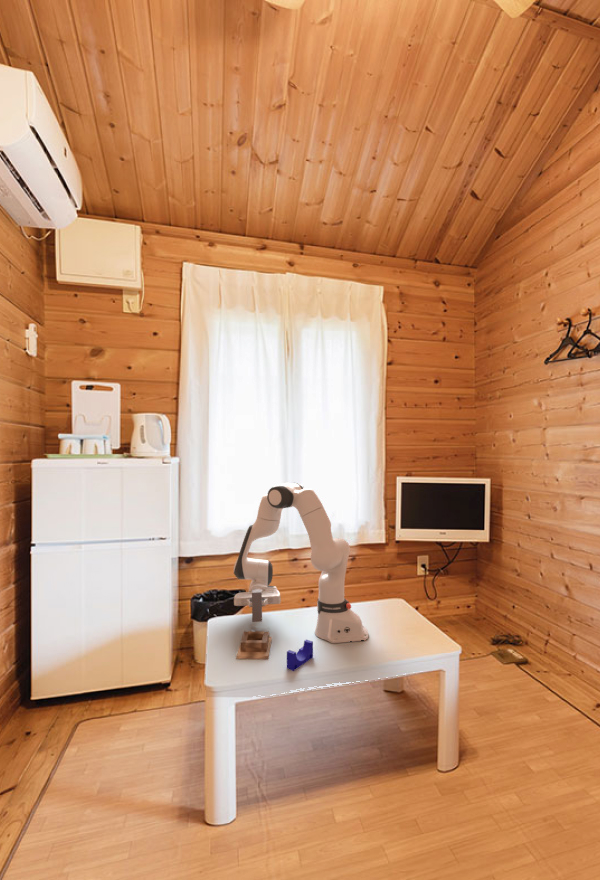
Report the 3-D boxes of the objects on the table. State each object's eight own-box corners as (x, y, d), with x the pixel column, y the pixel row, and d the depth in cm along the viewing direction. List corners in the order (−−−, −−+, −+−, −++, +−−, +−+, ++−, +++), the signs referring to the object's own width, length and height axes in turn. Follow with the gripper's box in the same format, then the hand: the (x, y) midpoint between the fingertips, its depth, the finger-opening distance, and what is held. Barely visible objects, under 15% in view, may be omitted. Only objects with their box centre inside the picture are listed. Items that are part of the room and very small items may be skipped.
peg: (262, 617, 172) (261, 589, 173) (261, 621, 168) (261, 592, 169) (252, 618, 172) (252, 589, 172) (252, 622, 168) (251, 592, 168)
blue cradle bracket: (303, 654, 153) (303, 638, 154) (312, 657, 151) (312, 641, 151) (283, 667, 144) (283, 650, 144) (293, 671, 141) (293, 653, 141)
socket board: (271, 639, 166) (271, 628, 166) (268, 658, 150) (268, 646, 150) (242, 639, 166) (242, 628, 166) (236, 658, 150) (236, 646, 150)
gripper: (234, 588, 182) (232, 598, 169) (279, 586, 184) (280, 596, 170) (234, 602, 182) (232, 613, 168) (280, 600, 184) (281, 611, 170)
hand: (257, 604), depth 169 cm, fingers closed on peg, 4 cm apart
